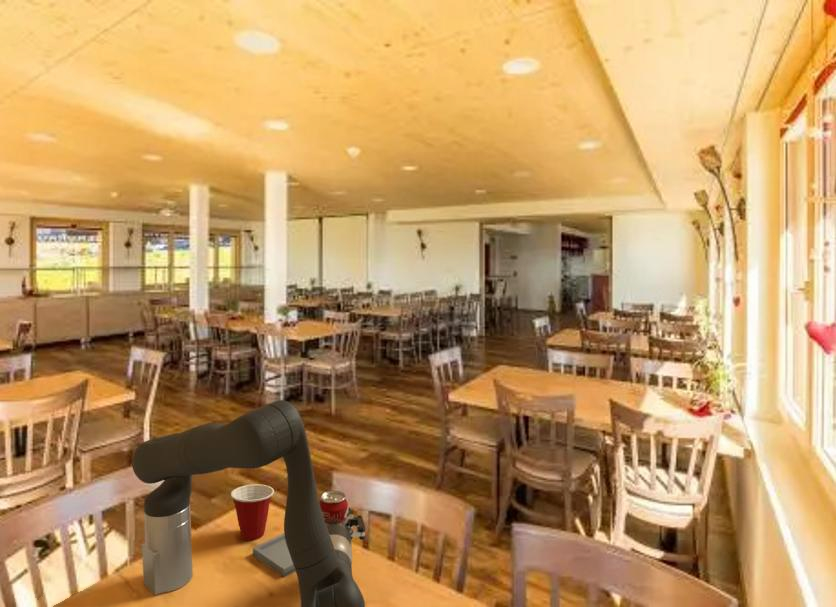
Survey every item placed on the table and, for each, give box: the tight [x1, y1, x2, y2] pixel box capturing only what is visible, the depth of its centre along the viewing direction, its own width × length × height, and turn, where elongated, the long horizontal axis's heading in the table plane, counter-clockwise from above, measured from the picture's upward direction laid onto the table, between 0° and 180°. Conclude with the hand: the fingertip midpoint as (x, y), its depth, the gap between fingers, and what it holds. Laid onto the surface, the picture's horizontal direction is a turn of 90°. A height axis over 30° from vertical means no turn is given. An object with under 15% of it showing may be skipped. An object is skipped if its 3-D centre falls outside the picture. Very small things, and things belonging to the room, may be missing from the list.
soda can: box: [319, 490, 349, 523], centre depth 117 cm, size 7×7×12 cm
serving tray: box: [252, 532, 296, 578], centre depth 127 cm, size 13×13×2 cm
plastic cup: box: [230, 483, 275, 541], centre depth 135 cm, size 11×11×12 cm
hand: (332, 512), depth 119 cm, fingers closed on soda can, 6 cm apart
